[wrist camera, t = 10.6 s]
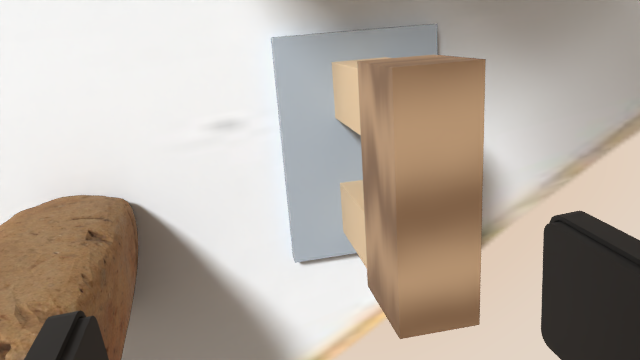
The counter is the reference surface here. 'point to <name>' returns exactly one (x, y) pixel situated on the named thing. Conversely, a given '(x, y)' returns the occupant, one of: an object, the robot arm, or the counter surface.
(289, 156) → the base
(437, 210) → the beam
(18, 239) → the brown rounded tall lump
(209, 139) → the counter surface
